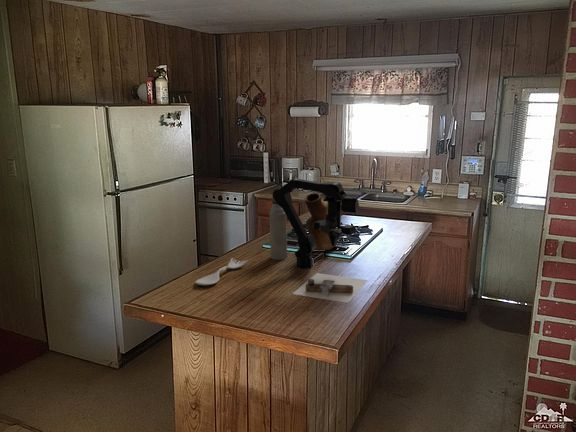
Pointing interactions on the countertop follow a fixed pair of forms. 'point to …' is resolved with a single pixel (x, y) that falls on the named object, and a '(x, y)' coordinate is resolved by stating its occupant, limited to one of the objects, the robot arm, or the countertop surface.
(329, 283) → the block
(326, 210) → the ceramic vessel
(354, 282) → the base board
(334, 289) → the link
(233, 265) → the spoon
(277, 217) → the thermos bottle
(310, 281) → the pintle pin
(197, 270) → the countertop surface
